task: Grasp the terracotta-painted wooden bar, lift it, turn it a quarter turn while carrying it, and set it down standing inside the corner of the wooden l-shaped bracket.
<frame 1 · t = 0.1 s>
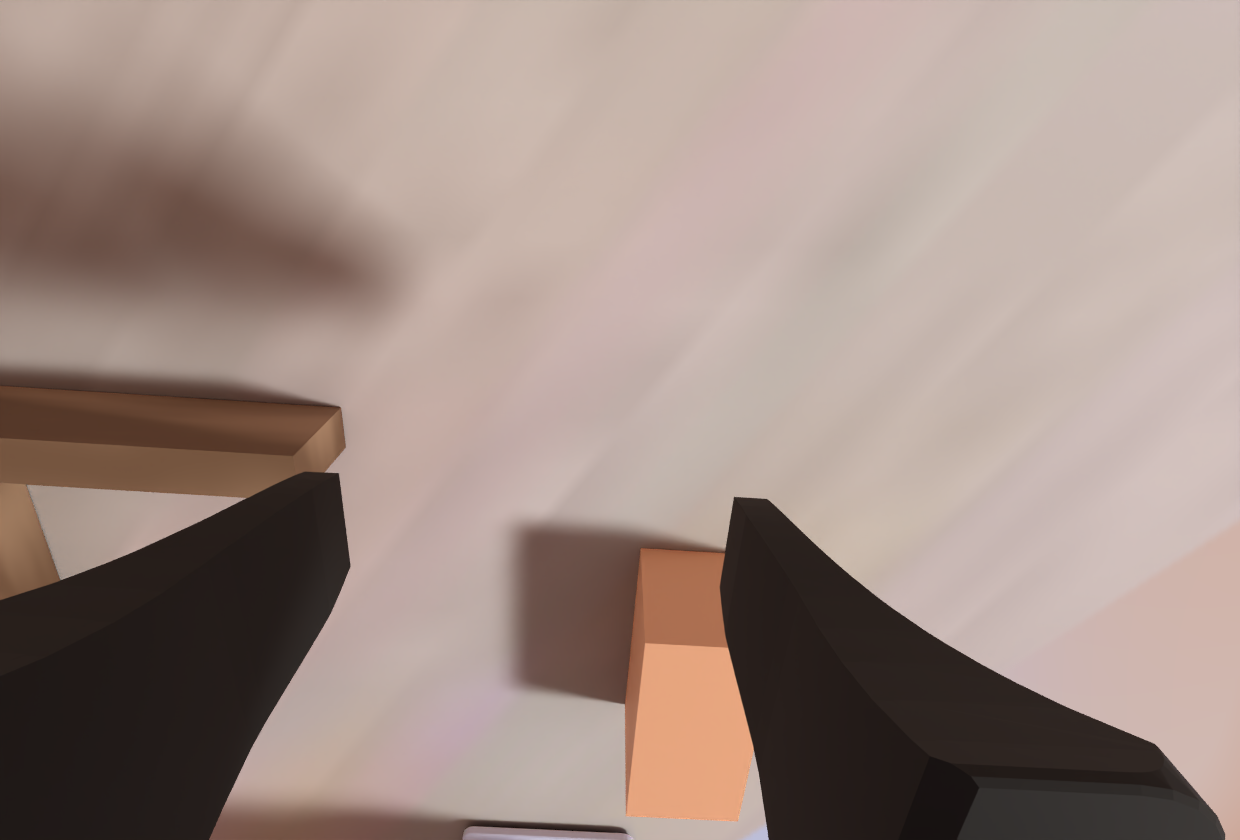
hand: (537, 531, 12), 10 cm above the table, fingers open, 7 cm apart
block: (682, 631, 26), on the table
wooden l-shaped bracket: (187, 566, 25), on the table
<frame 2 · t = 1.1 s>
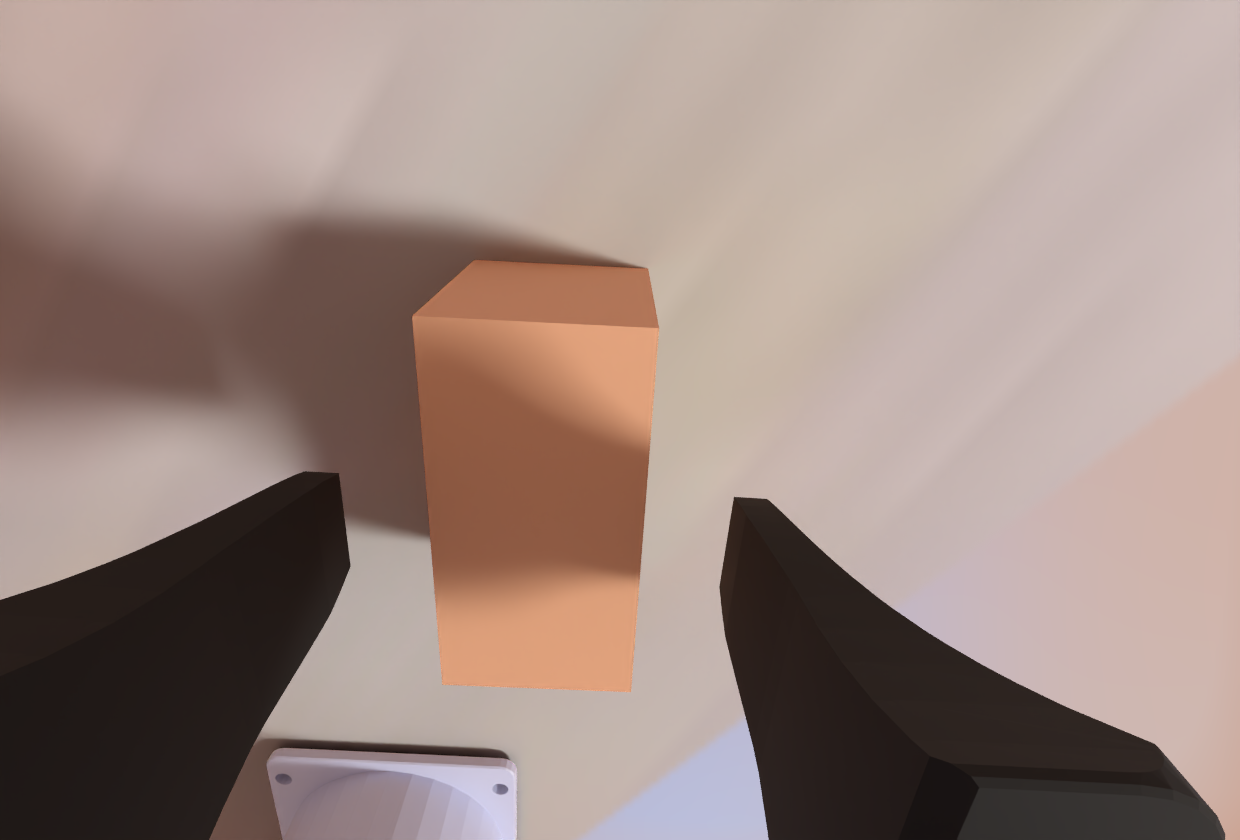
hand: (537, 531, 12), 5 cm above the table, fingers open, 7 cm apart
block: (559, 420, 17), on the table
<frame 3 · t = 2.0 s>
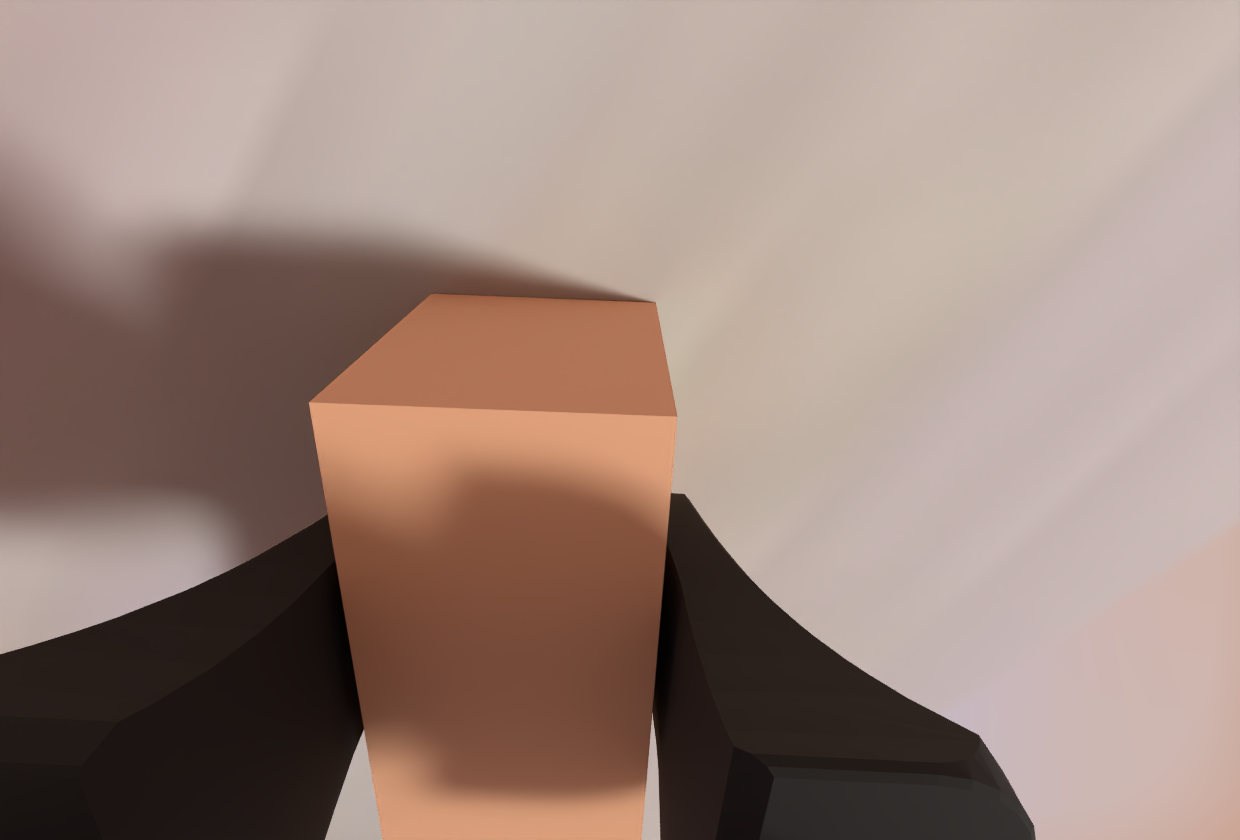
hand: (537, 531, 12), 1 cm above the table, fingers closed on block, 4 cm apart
block: (545, 491, 13), on the table, touching gripper
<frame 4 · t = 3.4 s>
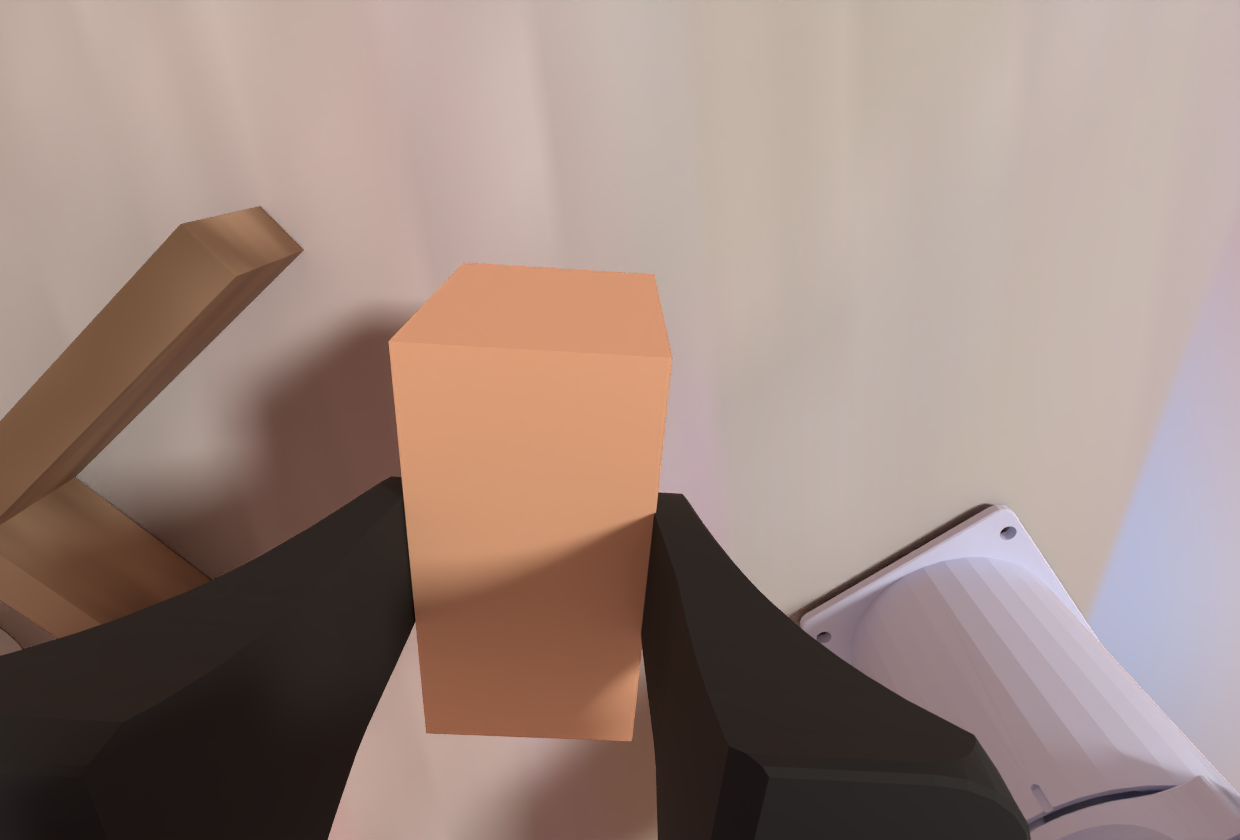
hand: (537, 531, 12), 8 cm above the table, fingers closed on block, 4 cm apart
block: (555, 437, 15), point 5 cm above the table, touching gripper
wooden l-shaped bracket: (307, 506, 22), on the table
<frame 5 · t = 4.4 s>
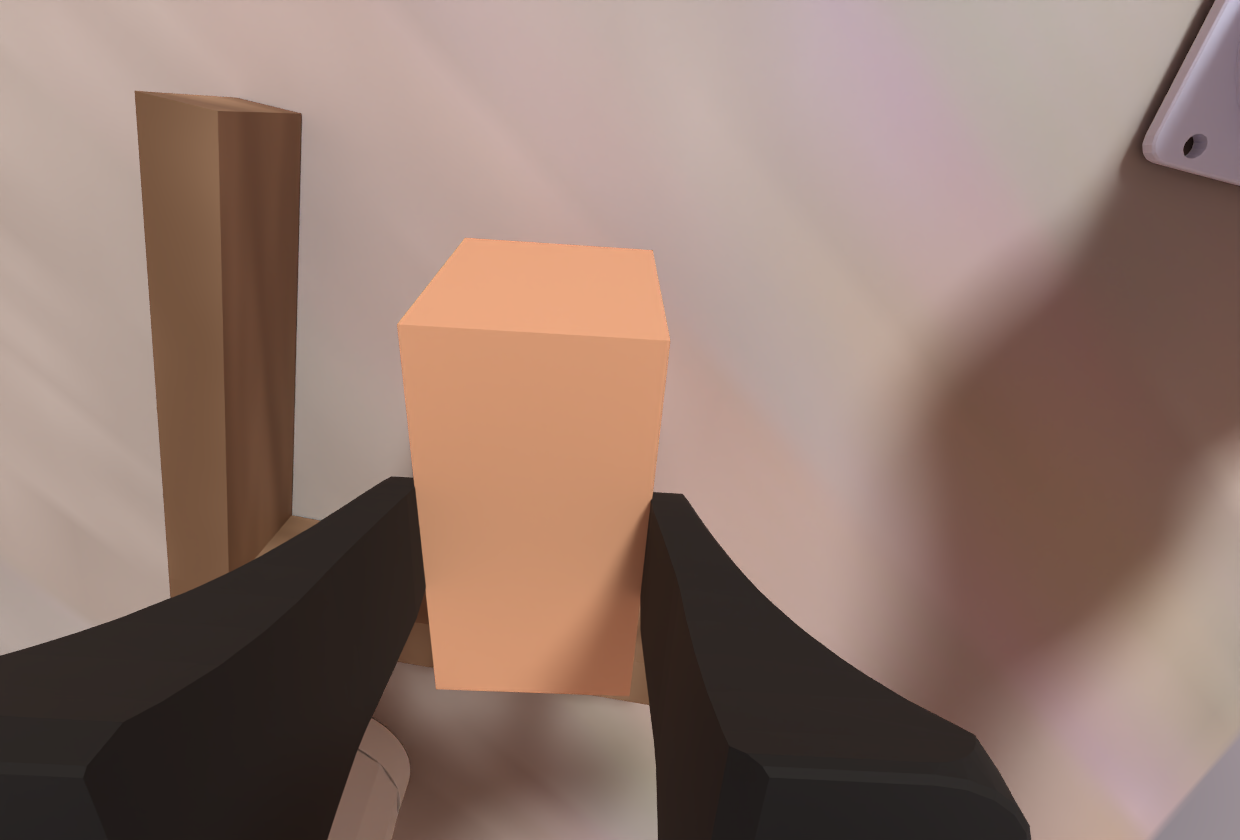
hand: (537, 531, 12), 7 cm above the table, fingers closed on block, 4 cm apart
cup: (328, 758, 25), on the table
block: (555, 408, 16), point 2 cm above the table, tilted 5°, touching gripper
wooden l-shaped bracket: (492, 407, 19), on the table
when the fingers open (3 cm above the table, at t = 5.5 s): block stays where it is, on the table.
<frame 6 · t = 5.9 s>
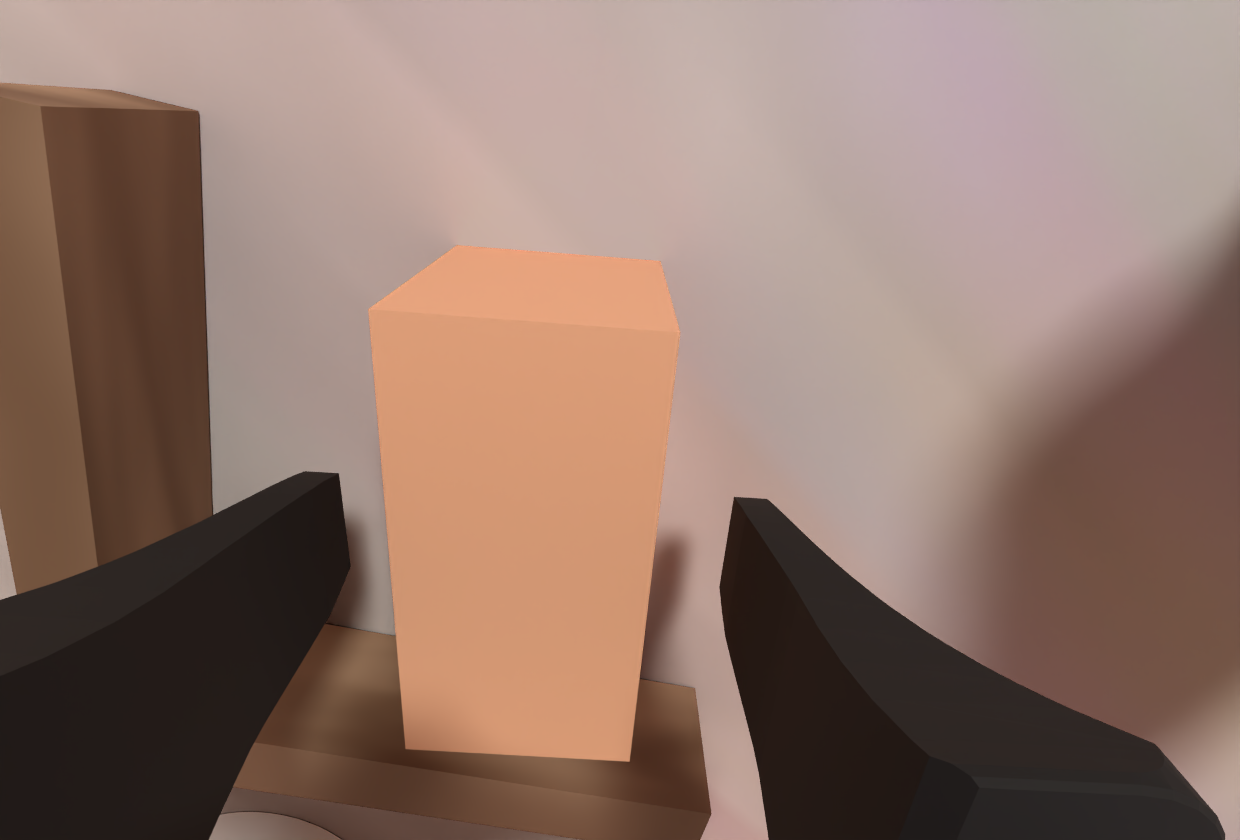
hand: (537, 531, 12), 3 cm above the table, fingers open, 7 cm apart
block: (552, 433, 15), on the table
wooden l-shaped bracket: (458, 478, 15), on the table
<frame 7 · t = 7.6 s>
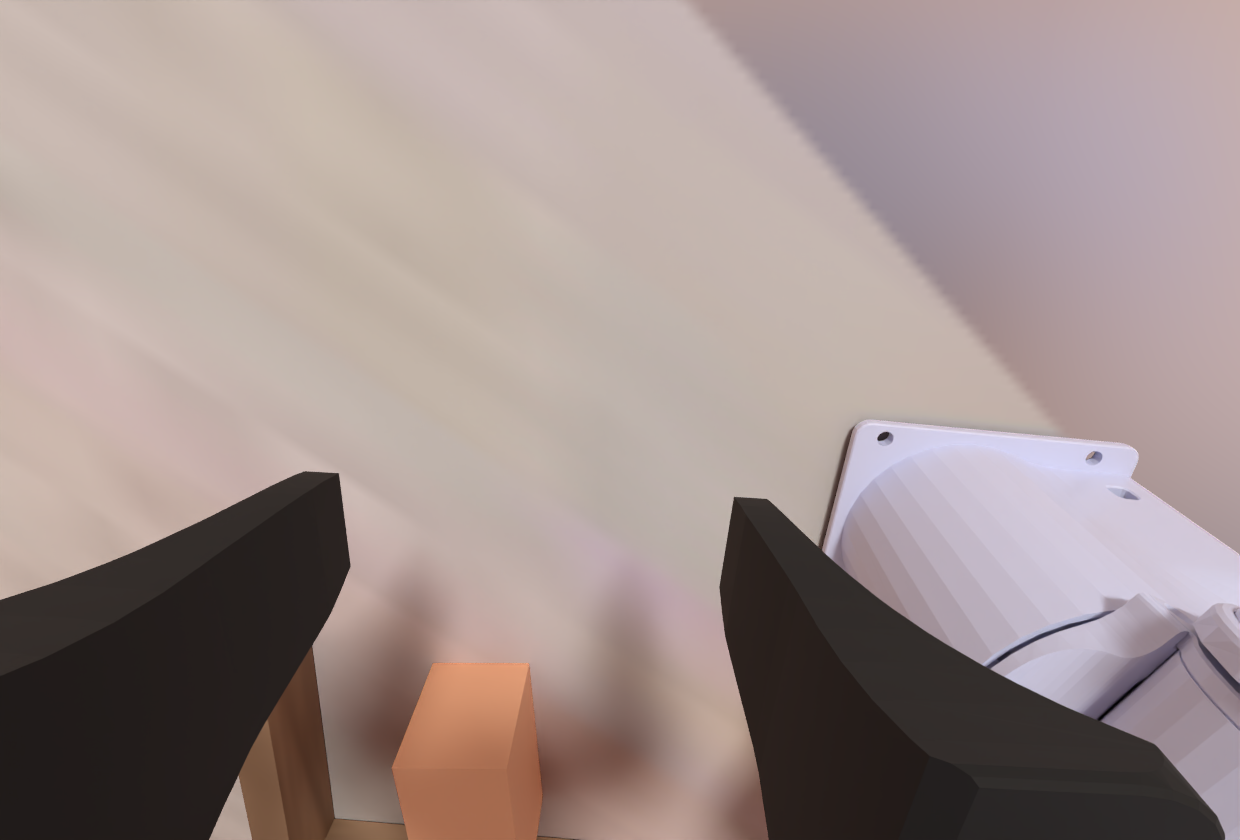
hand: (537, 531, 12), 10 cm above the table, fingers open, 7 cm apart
block: (491, 730, 29), on the table
wooden l-shaped bracket: (447, 754, 29), on the table
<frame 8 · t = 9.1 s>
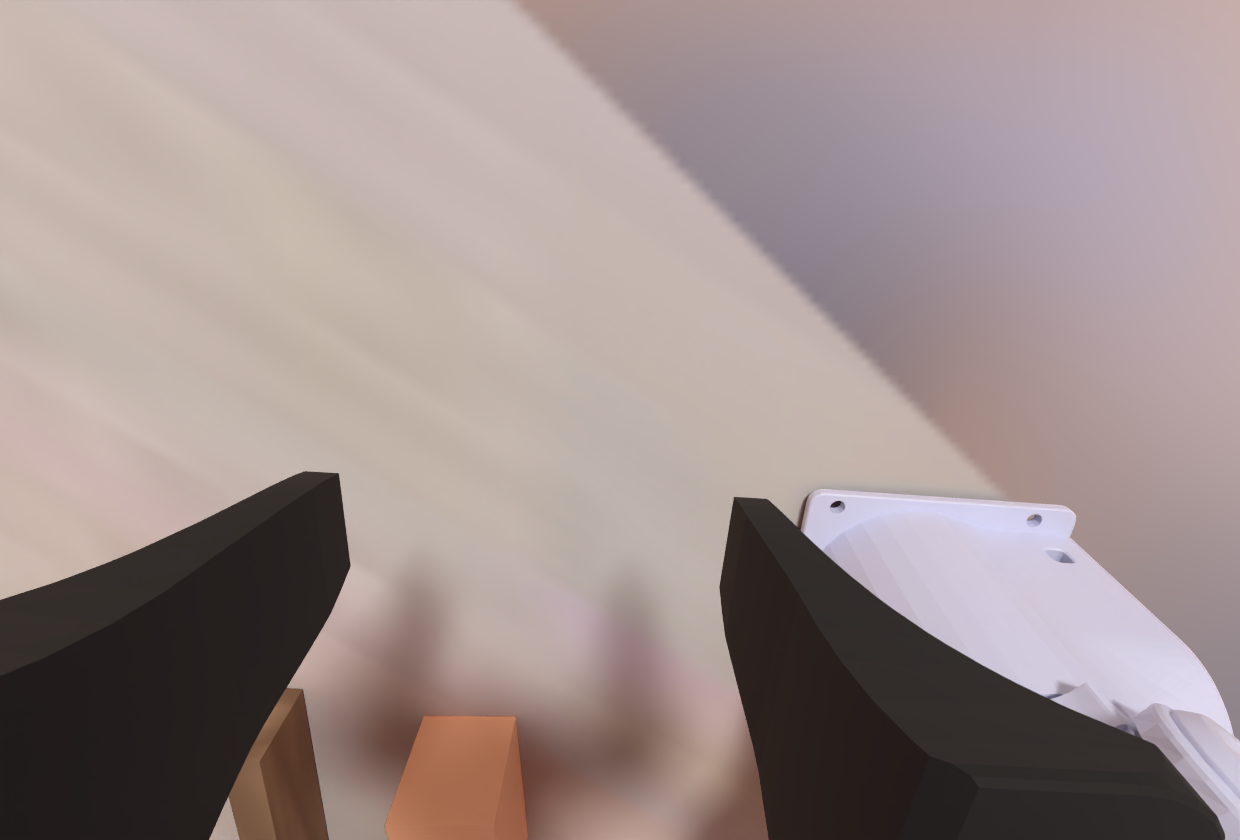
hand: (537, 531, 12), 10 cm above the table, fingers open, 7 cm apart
block: (479, 777, 30), on the table
wooden l-shaped bracket: (438, 801, 30), on the table
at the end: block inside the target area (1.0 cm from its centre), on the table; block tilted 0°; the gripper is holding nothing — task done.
